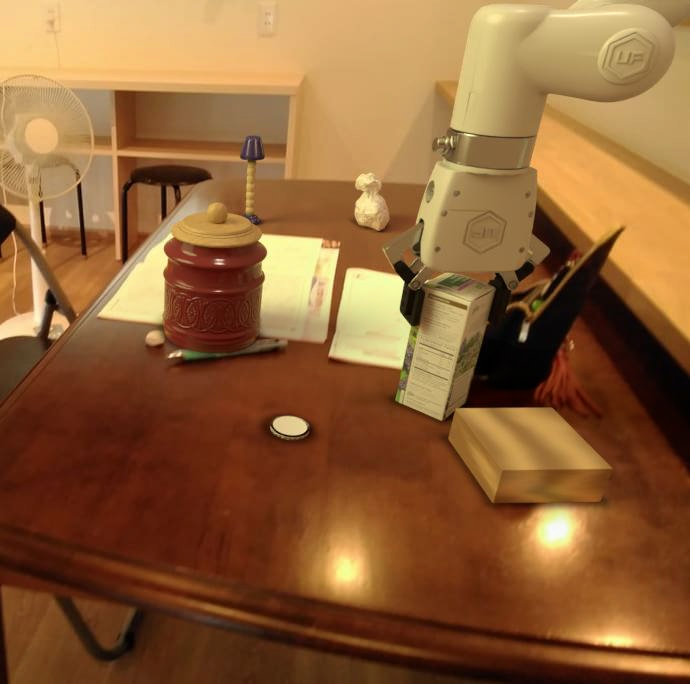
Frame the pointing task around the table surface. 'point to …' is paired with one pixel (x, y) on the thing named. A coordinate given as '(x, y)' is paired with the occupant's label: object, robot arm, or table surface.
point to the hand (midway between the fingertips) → (450, 319)
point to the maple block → (528, 456)
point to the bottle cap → (289, 427)
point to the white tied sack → (371, 203)
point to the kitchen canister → (213, 282)
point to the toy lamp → (251, 172)
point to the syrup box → (445, 345)
